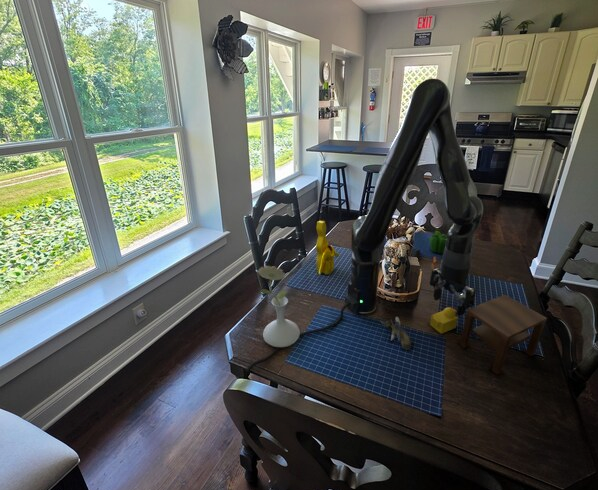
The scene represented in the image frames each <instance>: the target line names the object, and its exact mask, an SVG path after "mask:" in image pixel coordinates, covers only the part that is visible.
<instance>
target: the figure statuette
mask: <svg viewBox="0 0 598 490" xmlns="http://www.w3.org/2000/svg"><path fill="white" fill-rule="evenodd" d="M316 233H317V239H316V245H315V251H316V263H315V264H316V271H317V272H318V275H322V273H323V274H325V275H331V274H332V273H333V272H334V270H335V259H334V258H339V257H340V254H339V253H338V252H337V251H336V250H335V247H334V245H331V244H329V239H328V238H327V235H326V233H327V224H326V221H325V220H319V221H317V222H316Z"/></svg>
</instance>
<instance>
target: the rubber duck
mask: <svg viewBox="0 0 598 490" xmlns="http://www.w3.org/2000/svg"><path fill="white" fill-rule="evenodd" d="M456 313H457V309H455V308H453V307H450V306H449V307H445V308H444V309H443V310H441V311H439V312H436V313H434V314H431V317H430V323H429V325H430V327H432V328H433V329H434V330H435V331H437V332H438V333H439V334H441V335H442V334H444V333H447V332H449V331H452V330H454V329H456V328H457V324H458V319H459V316H457V315H456Z"/></svg>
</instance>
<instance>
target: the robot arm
mask: <svg viewBox="0 0 598 490" xmlns="http://www.w3.org/2000/svg"><path fill="white" fill-rule="evenodd" d="M428 136H430V140H431V143H432V147H433V148H432V149H433V154H434V158H435V163H436V167H437V172H438V175H439V177H440V181H441V184H442V186H443V200H444V209H445V213H446V216H447V218H448V219H449V220H450V222H451V223H453V224H452V226H451V227H450V228H449V229H448V231H447V234H446V235H447V239H446V245H445V249H444V252H443V253H442V258H441V261H442V264H441V263H440V265H441V270H440V267H437V269H434V270H432V269H431V275H430V279H429V285H430V286H431V287H433V300H435V301H439V300H441V298H442V292H443V288H444V290H445V291H448V292H449V293H450V294H452V295H453V297H454V299H455V300H456V301H457V303H458V305H457V308H456V311H457V313H455V316H457V317H460V316H462V315H465V313H466V310H467V309H470V308H472V307H474V305H475V298H476V292H477V290H476V288H475V287H469V286H468V285H467V280H468V278H469V274H470V268H471V262H472V255H473V254H472V253H473V252H472V251H473V248H474V241H475V236H476V233H477V231H478V228H479V226H480V223H481V220H482V217H483V215H484V204H483V201H482V200H481V199H480V197H478V196H477V195H474V194H470V193H469V187H470V185H471V181H472V178H471V175H470V171H469V169H468V164H467V162H466V158H465V155H464V153H463V150H462V148H461V147H462V146H461V144H460V142H459V140H458V137H457V134H456V130H455V127H454V123H453V117H452V109H451V92H450V90H449V87H448V86H447V85H446V83H445V82H444V81H443V80H442V79H440V78H436V77H435V78H434V77H433V78H427V79H424V80H422V81H421V82H419V84H418V85H417V86H416V87H415V89H414V90H413V92H412V93H411V97H410V100H409V103H408V106H407V109H406V113H405V116H404V117H403V121H402V124H401V127H400V129H399V131H398V133H397V134H396V137H395V138H394V140H393V142H392V144H391V145H390V148H389V149H388V153H386V156H385V158H384V160H383V163H382V164H381V167H380V170H379V172H378V175H377V177H376V181H375V185H374V190H373V195H372V201H371V205H370V207H369V210H368V212H367V214H366V215H362V216H359V217H358V218H356V219H355V221H354V222H353V223H352V227H351V235H350V236H351V239H350V241H351V243H350V255H351V261H350V262H351V266H350V267H351V268H350V269H351V270H350V281H348V283H347V295H344V303H345V304H344V305H343V306H342V308H341V309H340V315H339V317H338V318H337V320H336V321H334V322H332V323H330V324H328V325H326V326H323V327H320V328H316V329H311V330H307V331H304V332H302V333H301V332H300V335H299V338H301V337H305V336H307V335H311V334H314V333H320V332H323V331H326V330H328V329H331V328H332V327H333V328H334V327H335V326H336V325H338V324H339V323H340V322H341V321H342V319H343V317H344V311H345V310H346V308H347V307H349V309H350V310H352V312H353V313H354V314H356V315H369V314H372V313H374V312H375V311H376V310H377V297H378V289H379V288H378V287H379V277H380V276H379V275H380V264H381V258H380V254H379V247H380V246H381V245H382V243H383V241H384V240H386V236H387V232H388V230H389V228H390V226H391V222H392V219H393V217H394V215H395V213H396V211H397V208H398V207H399V205H400V203H401V201H402V200H403V197H404V194H405V193H406V191H407V189H408V187H409V185H410V183H411V181H412V179H413V177H414V175H415V173H416V171H417V168H418V165H419V162H420V159H421V156H422V153H423V150H424V146H425V143H426V140H427V137H428ZM439 280H440V282H439ZM459 293H460V294H459ZM280 349H281V348H280V347H275V349H273V351H272V352H270V353H269V354H268V355H266V356H265V357H263V358H260V359H257V360H255V361H253V362H252V363H251V364H250V365H248V366H247V369H246V370H245V372H246V373H249V372H250V371H251V370H252V369H253V368H254V367H255V366H256V365H258V364H261V363H264V362H267V361H268V360H269V359H271V358H272V357H273V356H274V355H275V354H276V353H277V352H278V351H280Z"/></svg>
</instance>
